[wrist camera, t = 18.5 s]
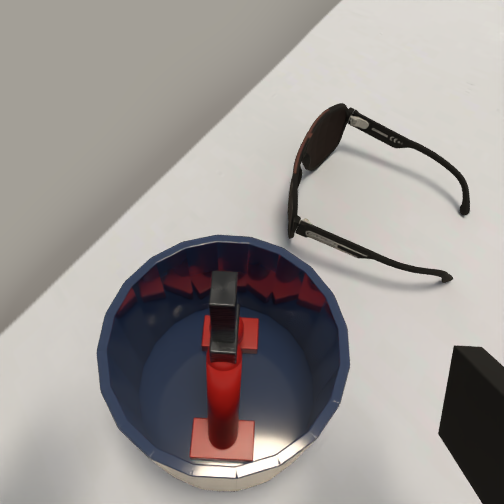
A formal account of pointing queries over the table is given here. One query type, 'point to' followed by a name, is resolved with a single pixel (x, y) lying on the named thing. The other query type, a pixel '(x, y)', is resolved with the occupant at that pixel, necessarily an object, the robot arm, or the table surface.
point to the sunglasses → (321, 146)
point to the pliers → (225, 376)
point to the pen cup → (194, 358)
